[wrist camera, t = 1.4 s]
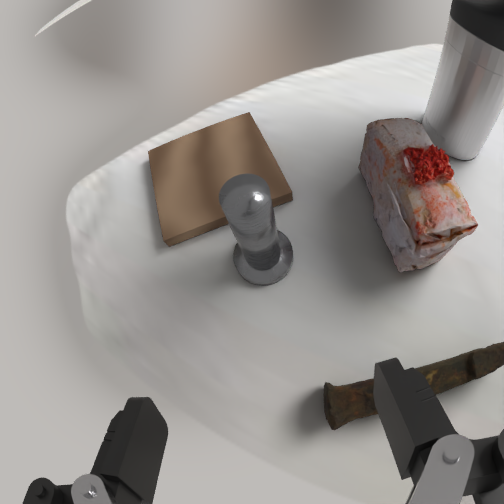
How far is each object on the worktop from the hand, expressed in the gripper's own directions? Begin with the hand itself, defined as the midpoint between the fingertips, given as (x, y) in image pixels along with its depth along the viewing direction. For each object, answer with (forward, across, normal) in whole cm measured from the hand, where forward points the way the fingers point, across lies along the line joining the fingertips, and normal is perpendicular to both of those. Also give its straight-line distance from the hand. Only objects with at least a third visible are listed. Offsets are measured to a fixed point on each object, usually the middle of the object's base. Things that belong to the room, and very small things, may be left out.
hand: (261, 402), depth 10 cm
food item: (+22, -15, +2) cm, 27 cm away
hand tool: (+11, -12, +14) cm, 21 cm away
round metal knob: (+21, 0, +3) cm, 21 cm away
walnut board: (+29, +4, -5) cm, 29 cm away
